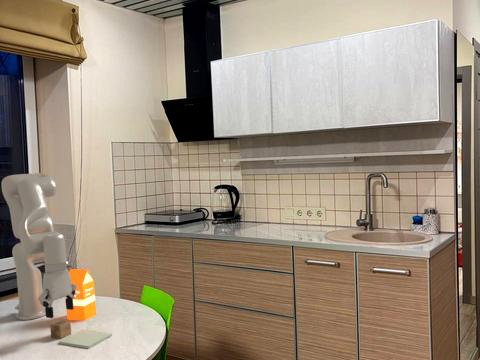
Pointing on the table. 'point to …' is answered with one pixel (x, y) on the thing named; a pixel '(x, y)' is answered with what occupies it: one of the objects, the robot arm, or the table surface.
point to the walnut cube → (60, 329)
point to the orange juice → (82, 295)
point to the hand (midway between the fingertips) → (60, 313)
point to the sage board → (85, 338)
